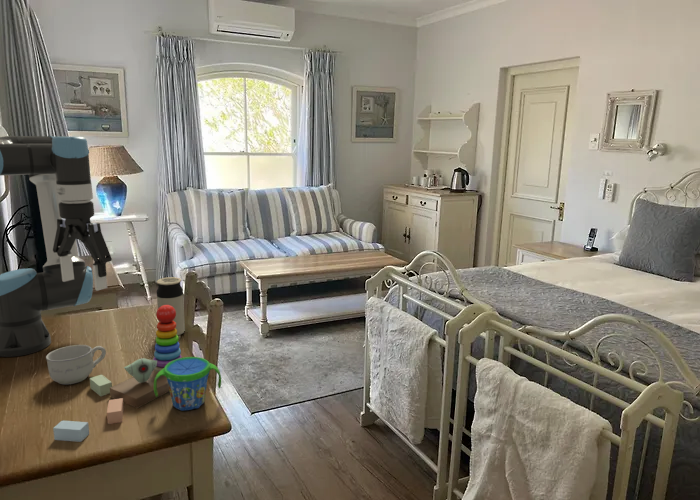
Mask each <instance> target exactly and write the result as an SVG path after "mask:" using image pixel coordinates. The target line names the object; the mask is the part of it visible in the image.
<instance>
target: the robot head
mask: <svg viewBox="0 0 700 500" xmlns="http://www.w3.org/2000/svg"><path fill="white" fill-rule="evenodd" d="M156 366H157V360H153V359H148V358H146V357H145V358H143V357H142V358H138V359H136V360H135V361H133V362H132V363H130V364H128V365H126V366H124V367H123V368H124V369H125V371H126V372H127V373H128V374H129V376H131V377H134V378H135V380H137V381H138V382H139V383H144V382H146V381H147V380H148V379H149V378H150V375H151V373H152V371H154V368H155V367H156Z"/></svg>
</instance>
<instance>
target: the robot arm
mask: <svg viewBox="0 0 700 500" xmlns="http://www.w3.org/2000/svg"><path fill="white" fill-rule="evenodd" d="M90 167H91V166H90V149H89V146H88V140H87V139H86V138H85V137H84V136H65V135H63V136H62V135H61V136H54V135H53V136H52V135H46V136H45V135H37V136H36V135H35V136H34V135H7V136H0V176H1V177H2V176H21V175H23V176H24V175H25V176H26V175H28V178H29V181H30V182H31V183H32V184H33V185H35V187H36V192H37V193H36V194H37V199H38V206H39V212H40V220H41V225H42V226H41V227H42V233H43V239H44V245H45V252H46V258H47V259H46V262H45V263H44V265H42V271H43V272H37V271H36V270H35V268H31V267H30V268H28V267H27V268H19V269H14V270H10V271H9V270H8V271H6V272H2V273H1V274H0V358H1V357H2V358H3V357H5V358H9V357H10V358H12V357H20V356H27V355H31V354H34V353H37V352H40V351H42V350H45V349H46V348H47V347H49V346H50V345H51V343H52V338H51V334H50V332H49V330H48V329H47V328H48V327H46V325H45V322H44V321H43V318H42V312H43V311H49V310H55V309H56V310H57V309H63V308H68V307H77V306H80V305H84V304H87V303H89V302H91V300H92V297H93V292H94V290H93V289H94V287H95V291H100V290H104V289H108V282H107V281H108V280H107V273H108V272H107V263H110V262H111V261H112V260H113V259H112V256H111V254H110V251H109V248H108V246H107V243H106V240H105V238H104V235H103V233H102V228H101V224H100V222H93V223H92V221H91V218H92V217H94V216H95V207H94V206H95V205H94V202H93V201H92V200H93V199H94V194H93V185H92V180H91V179H92V178H91V169H90ZM77 240H79V241H80V243H82V244H84V246H85V247H86V249H87V251H88V253H89V255H90V256H91V258H92V260H93V263H92V267H90V266H89V265H87V266H86V261H85V260H84V259H82V258H81V257H80V256H79V251H78V246H77V245H78V244H77ZM92 268H93V269H92Z"/></svg>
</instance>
